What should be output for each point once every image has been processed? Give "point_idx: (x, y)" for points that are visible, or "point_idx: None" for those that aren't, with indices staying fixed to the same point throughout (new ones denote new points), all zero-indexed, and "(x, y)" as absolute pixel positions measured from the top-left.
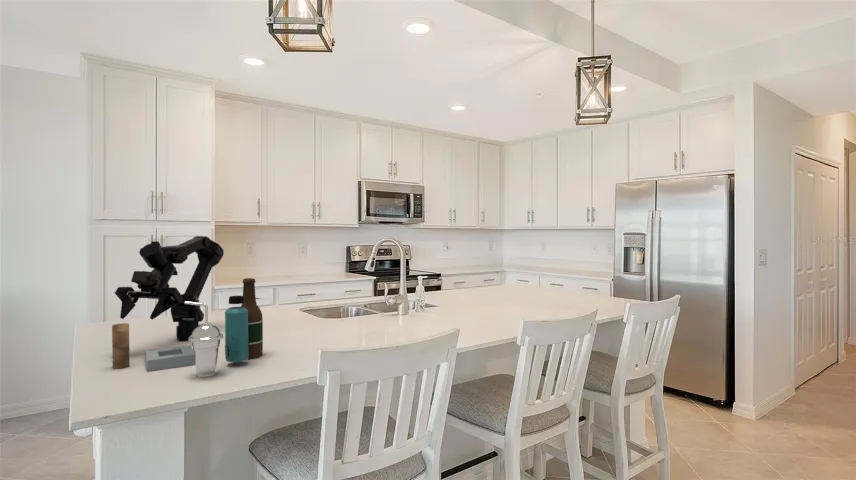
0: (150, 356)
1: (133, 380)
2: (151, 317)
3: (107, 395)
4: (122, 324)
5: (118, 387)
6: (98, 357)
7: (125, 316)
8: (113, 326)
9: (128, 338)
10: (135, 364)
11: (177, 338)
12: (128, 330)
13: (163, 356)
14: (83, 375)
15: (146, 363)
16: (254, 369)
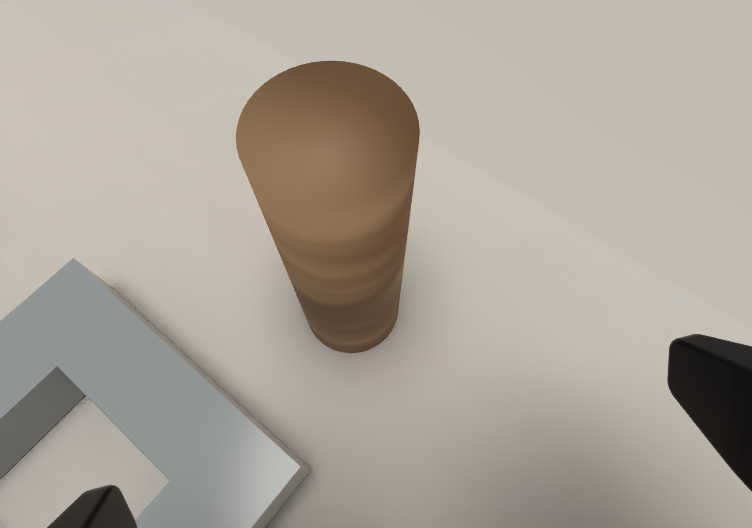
0: (126, 345)
1: (80, 161)
2: (86, 499)
3: (55, 17)
4: (322, 147)
5: (80, 82)
6: None
7: (716, 447)
8: (338, 62)
9: (276, 245)
10: (309, 378)
11: None
12: (260, 206)
13: (22, 378)
14: None
15: (179, 350)
16: None
